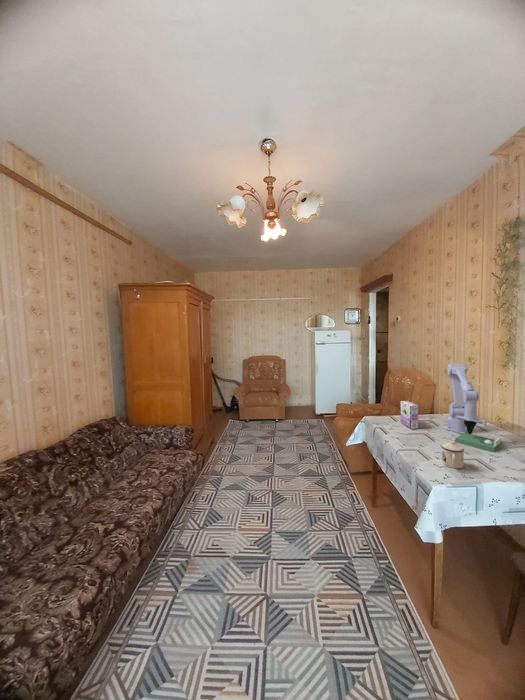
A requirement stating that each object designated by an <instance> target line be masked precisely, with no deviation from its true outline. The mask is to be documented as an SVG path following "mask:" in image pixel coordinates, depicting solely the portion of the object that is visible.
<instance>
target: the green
mask: <svg viewBox="0 0 525 700" xmlns="http://www.w3.org/2000/svg"><path fill="white" fill-rule="evenodd" d="M485 440H490V441H492V444H488V443H485V442H484V441H485ZM454 442H455V443H456V444H459V445H460V444H462V445H464V446H469V447H473V448H477V449H480V450H484V451H486V452H487V451H488V452H492V453H495V452H496V451H498V450H500V449H501V447H503V441H502V440H501V437H498V438H496V439H493V438H490V437H485V436H480V435H476V434H473V433H472V434H468V432H466V433H463V434H462V433H461V434H459V435H458V436H456V437H455V438H454Z"/></svg>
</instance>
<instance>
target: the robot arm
mask: <svg viewBox="0 0 525 700" xmlns="http://www.w3.org/2000/svg"><path fill="white" fill-rule="evenodd" d="M446 371H447V376H448V377H449V378H450V379H451V387H452V397H453V402H451V404H449V406H448V412H449V413H448V414H449V416H448V417H447V429H446V431H450V432H454V433H459V434H461V435H462V434H463V433H468V434H472V435H473V432H474V428H475V427H476V426H477V424H481V425H485V426H486V425H487V420H485V419H484V420H483V419H480V418H477V417H478V416H477V414H478V413H477V411H478V410H477V408H478V407H477V402H478V401H479V400H480V399H479V397H480V395H479V392H478V390H476V389H475V388H474V386H473V384H472V381H469V379H468V377H467V376H468V375H467V373H468V365H467V364H466V363H449V364H448V365H447V368H446Z"/></svg>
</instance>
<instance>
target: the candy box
mask: <svg viewBox="0 0 525 700" xmlns="http://www.w3.org/2000/svg"><path fill="white" fill-rule="evenodd" d="M399 404H400V424H401V423H402V425H403V424H404V425H403V426H405V428H407V429H409V430H419V429H420V428H419V404H416V403H414V402H411V401H409V400H400V403H399Z"/></svg>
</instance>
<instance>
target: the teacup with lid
mask: <svg viewBox="0 0 525 700" xmlns="http://www.w3.org/2000/svg"><path fill="white" fill-rule="evenodd" d="M441 448H442V449H441V450H442V451H441V452H442V453H441V455H442V459H441V461H442V464H443V466H446V467H448V468H452V469H462V468H464V464H465V463H464V460H465V459H464V457H465V456H464V455H465V454H464V451H465V449H464V446H462V445H460V444H459V443H457V442H455V440H450V441H449V442H445V443H442V445H441Z"/></svg>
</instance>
